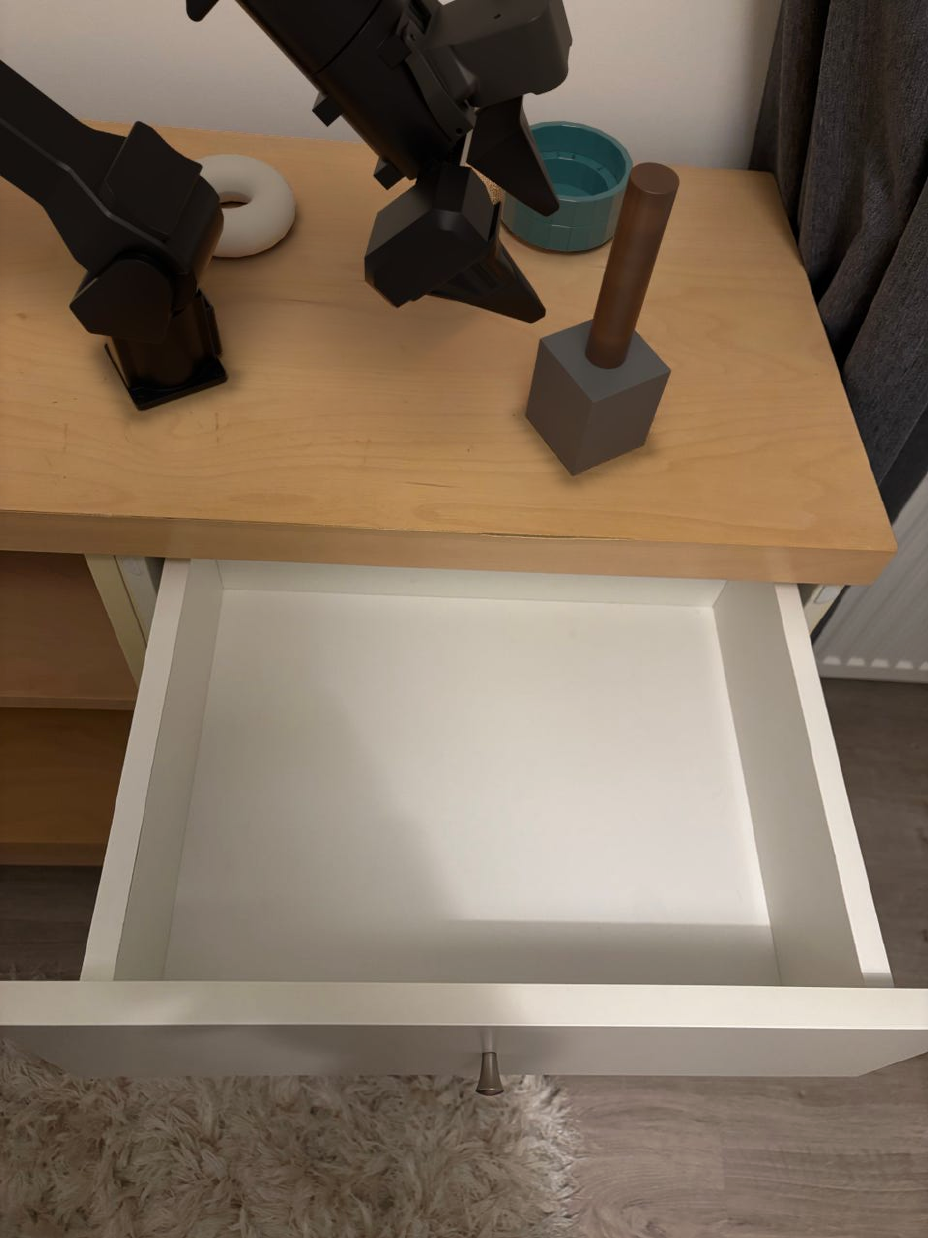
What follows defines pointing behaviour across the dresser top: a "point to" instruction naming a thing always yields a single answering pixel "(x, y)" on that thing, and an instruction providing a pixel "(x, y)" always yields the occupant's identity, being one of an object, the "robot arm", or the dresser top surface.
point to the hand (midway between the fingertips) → (546, 262)
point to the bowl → (573, 188)
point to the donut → (249, 203)
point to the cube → (593, 398)
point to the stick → (631, 262)
